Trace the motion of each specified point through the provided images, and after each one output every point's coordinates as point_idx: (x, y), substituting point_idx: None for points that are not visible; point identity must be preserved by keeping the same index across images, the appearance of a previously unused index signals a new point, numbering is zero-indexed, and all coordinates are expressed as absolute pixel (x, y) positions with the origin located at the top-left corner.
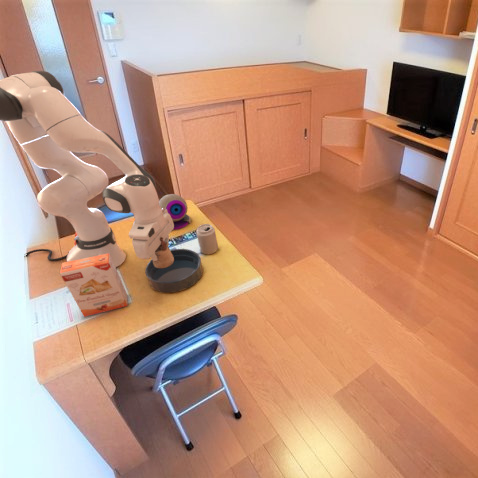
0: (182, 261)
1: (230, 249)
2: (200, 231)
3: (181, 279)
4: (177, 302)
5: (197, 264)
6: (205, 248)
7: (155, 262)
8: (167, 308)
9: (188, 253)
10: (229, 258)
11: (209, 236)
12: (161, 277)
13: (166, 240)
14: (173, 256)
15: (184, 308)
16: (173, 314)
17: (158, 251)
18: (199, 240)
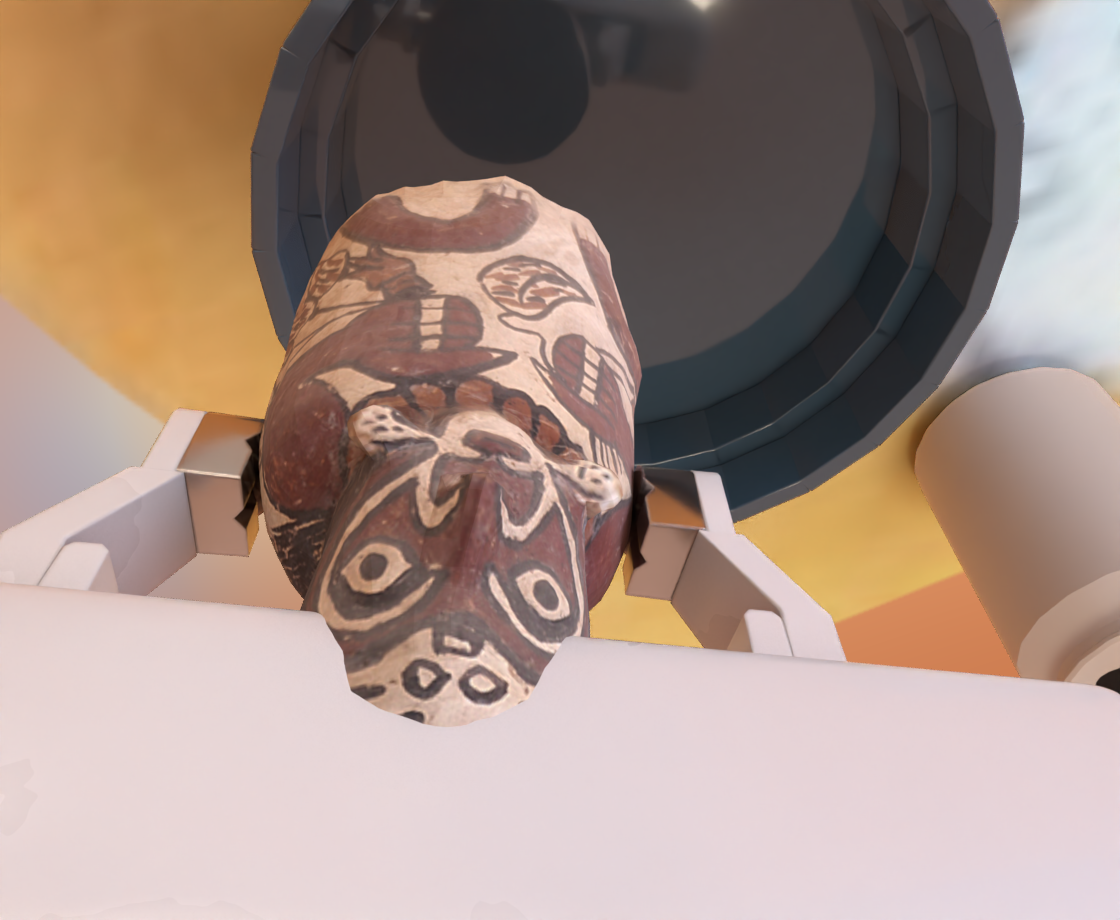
0: (862, 215)
1: (943, 578)
2: (1105, 653)
3: None
4: (201, 319)
5: (738, 409)
6: (950, 488)
7: (289, 338)
8: (93, 248)
9: (906, 346)
10: (811, 587)
11: (1012, 660)
12: (568, 25)
13: (703, 618)
14: (930, 140)
15: (145, 395)
16: (41, 325)
17: (298, 589)
18: (1039, 517)
